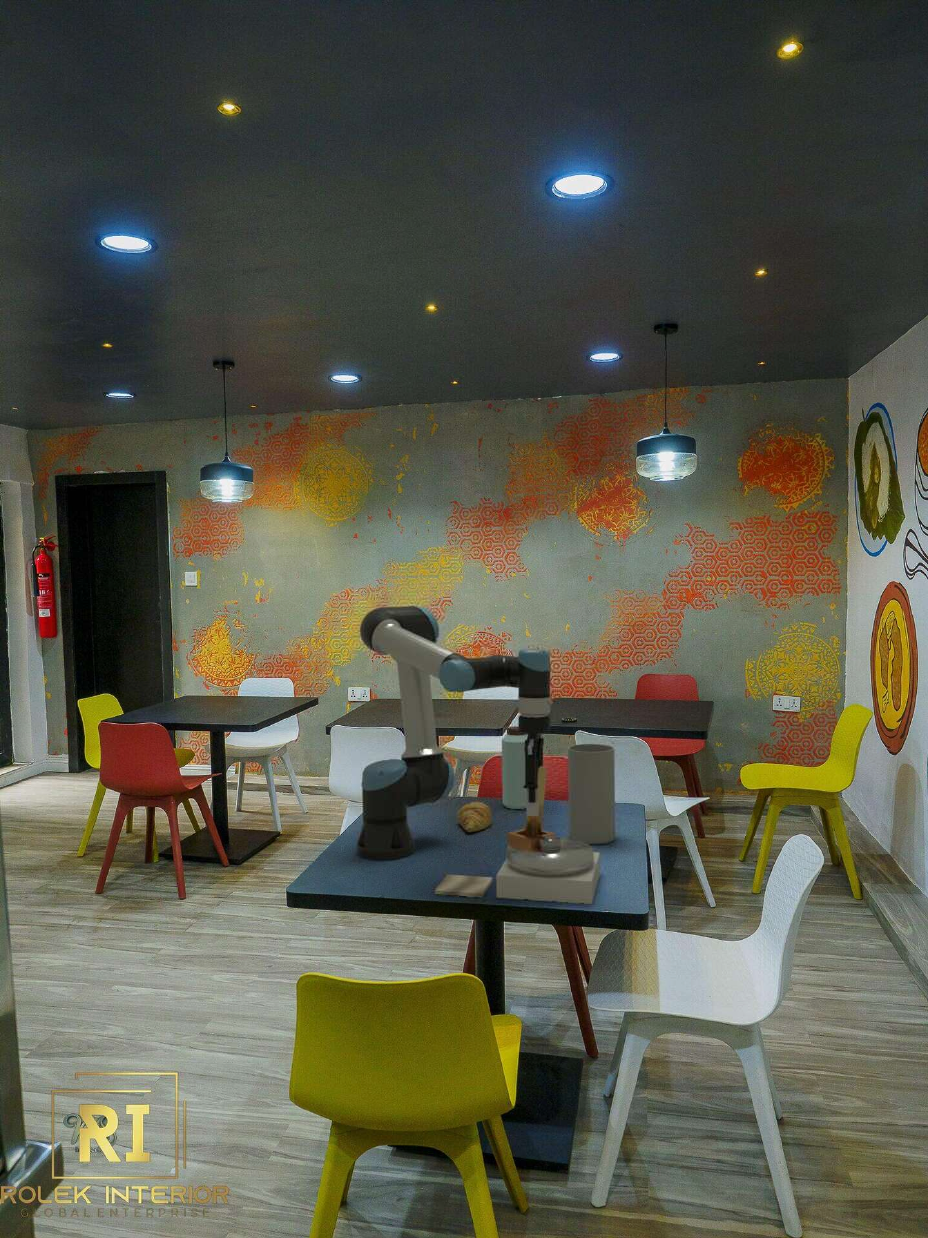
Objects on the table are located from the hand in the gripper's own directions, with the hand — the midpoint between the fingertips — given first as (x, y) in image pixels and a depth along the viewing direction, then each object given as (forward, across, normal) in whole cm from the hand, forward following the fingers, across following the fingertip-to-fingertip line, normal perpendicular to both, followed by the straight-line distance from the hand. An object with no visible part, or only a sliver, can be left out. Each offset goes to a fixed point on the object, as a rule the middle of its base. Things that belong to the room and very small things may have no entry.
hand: (534, 812), depth 202 cm
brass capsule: (+5, 0, 0) cm, 5 cm away
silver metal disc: (+10, -4, -4) cm, 12 cm away
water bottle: (+16, +66, +16) cm, 70 cm away
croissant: (+16, +42, +25) cm, 52 cm away
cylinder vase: (+16, +35, -10) cm, 39 cm away
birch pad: (+16, -10, +14) cm, 24 cm away
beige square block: (+15, -4, -4) cm, 17 cm away
